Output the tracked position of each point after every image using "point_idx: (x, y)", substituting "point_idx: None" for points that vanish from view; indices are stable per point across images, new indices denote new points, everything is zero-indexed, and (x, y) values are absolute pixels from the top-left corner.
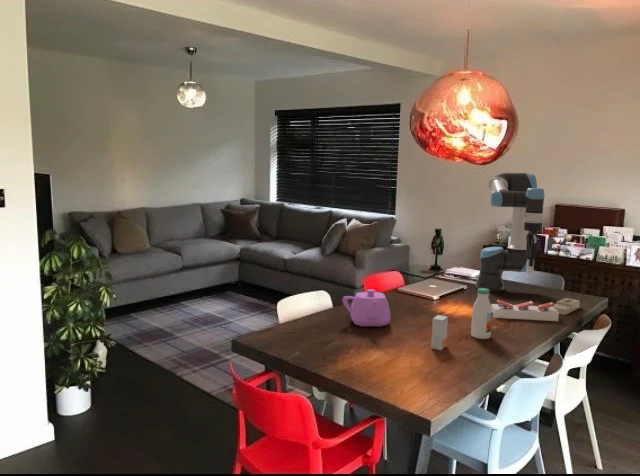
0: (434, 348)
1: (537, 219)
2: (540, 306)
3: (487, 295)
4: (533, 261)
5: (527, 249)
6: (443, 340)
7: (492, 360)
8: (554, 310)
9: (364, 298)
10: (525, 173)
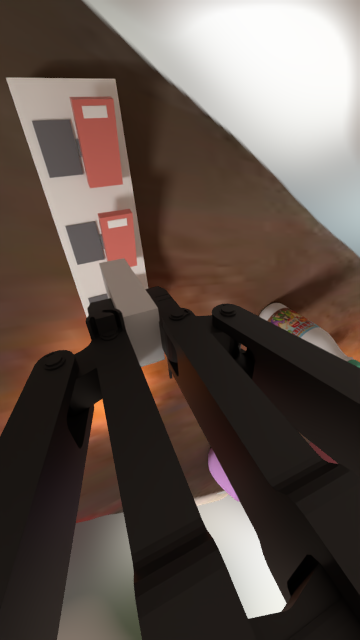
0: None
1: None
2: (110, 175)
3: (352, 358)
4: (151, 303)
5: (78, 482)
6: None
7: (352, 287)
8: (84, 94)
9: None
10: None
